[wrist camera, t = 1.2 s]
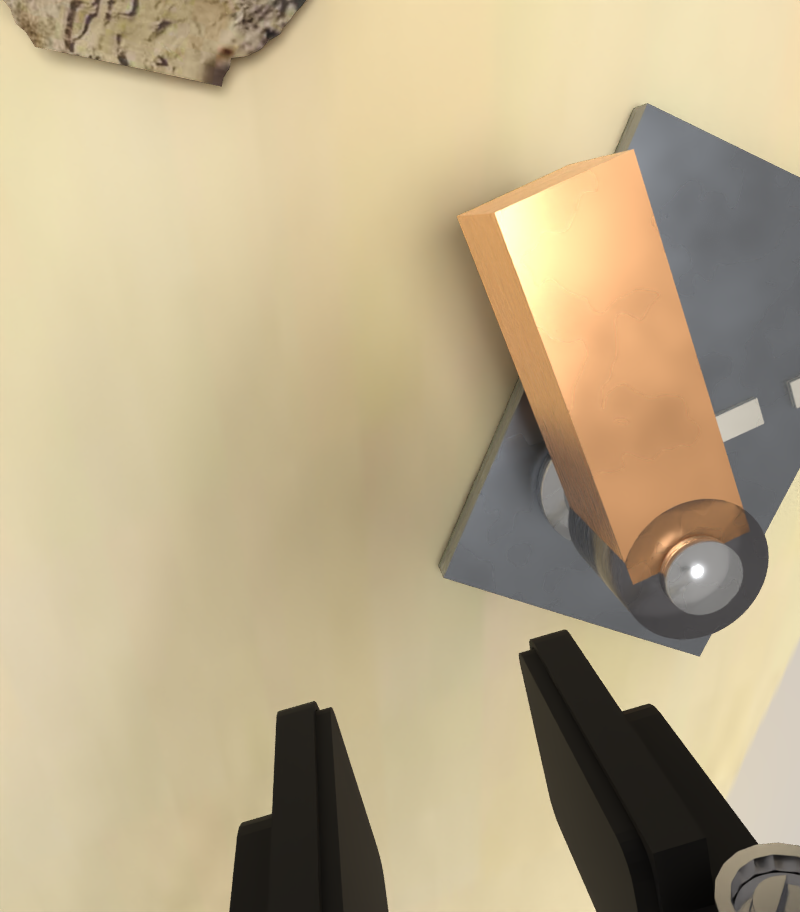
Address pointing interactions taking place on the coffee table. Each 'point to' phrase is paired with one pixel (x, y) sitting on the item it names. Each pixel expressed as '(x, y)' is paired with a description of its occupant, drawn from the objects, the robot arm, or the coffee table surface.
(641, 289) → the orange boxy piece
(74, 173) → the coffee table surface
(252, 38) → the stone
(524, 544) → the post base
